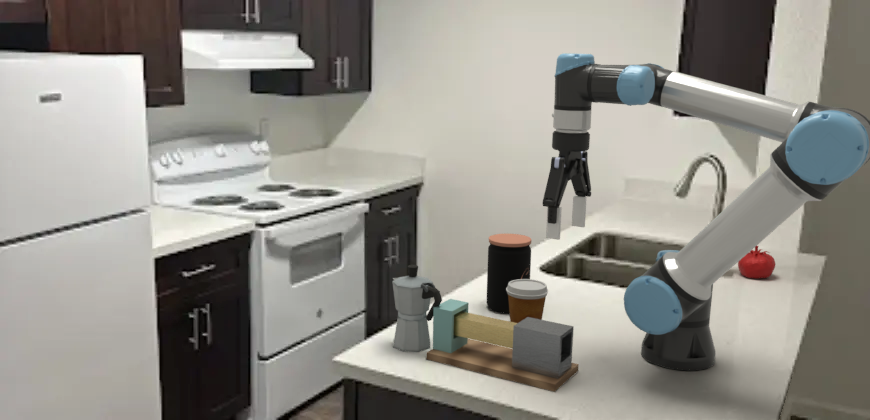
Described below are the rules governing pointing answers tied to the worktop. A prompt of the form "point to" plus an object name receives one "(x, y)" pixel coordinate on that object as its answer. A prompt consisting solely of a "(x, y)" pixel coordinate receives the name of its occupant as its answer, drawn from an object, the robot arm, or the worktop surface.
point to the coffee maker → (413, 310)
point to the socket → (447, 326)
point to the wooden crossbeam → (484, 329)
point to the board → (496, 364)
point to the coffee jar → (506, 267)
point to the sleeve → (542, 347)
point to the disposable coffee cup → (526, 299)
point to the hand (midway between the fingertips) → (566, 232)
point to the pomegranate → (756, 264)
